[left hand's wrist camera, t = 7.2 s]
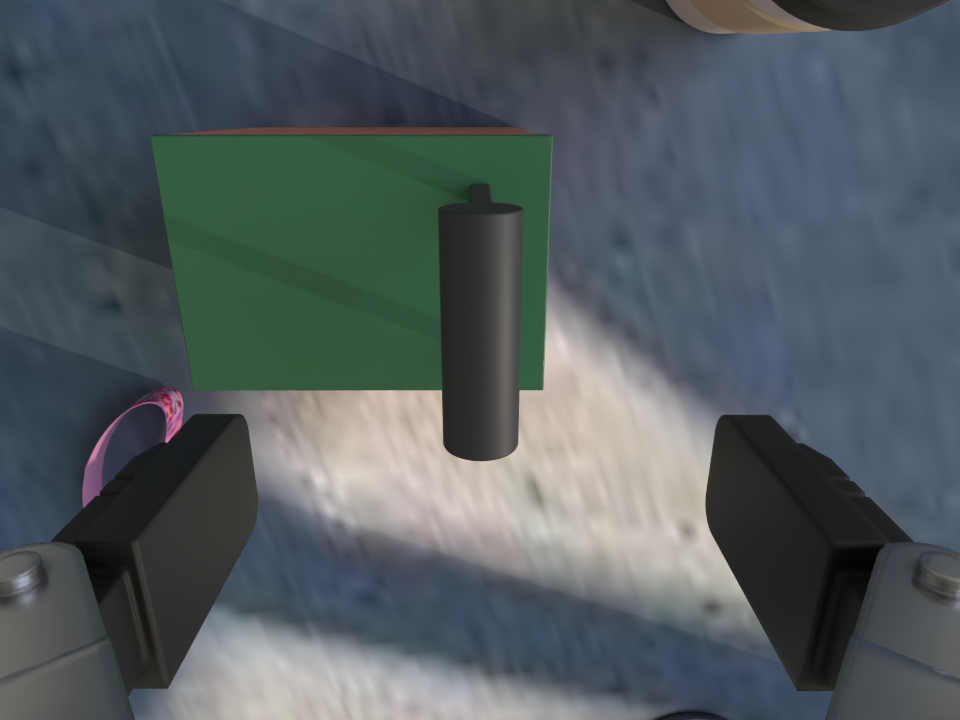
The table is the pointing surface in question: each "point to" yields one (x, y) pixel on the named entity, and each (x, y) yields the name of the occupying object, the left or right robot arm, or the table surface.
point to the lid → (365, 267)
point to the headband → (163, 397)
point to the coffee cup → (796, 14)
